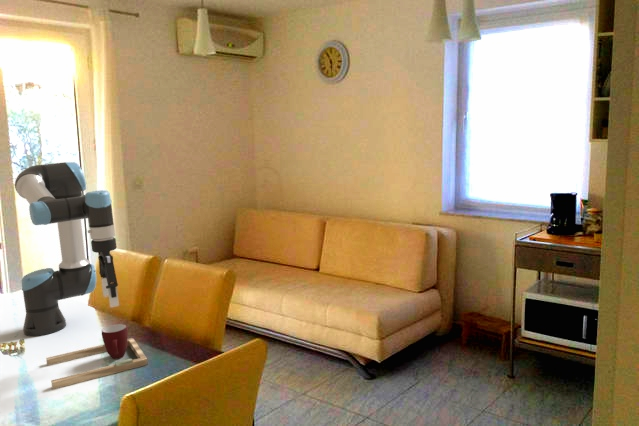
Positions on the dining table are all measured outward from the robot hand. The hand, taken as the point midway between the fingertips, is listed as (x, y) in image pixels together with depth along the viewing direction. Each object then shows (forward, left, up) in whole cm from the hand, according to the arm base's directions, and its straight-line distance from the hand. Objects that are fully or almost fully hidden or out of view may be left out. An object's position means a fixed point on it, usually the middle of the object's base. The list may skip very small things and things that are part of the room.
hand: (111, 301), depth 186 cm
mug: (+1, 0, -20) cm, 20 cm away
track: (+2, -7, -19) cm, 21 cm away
